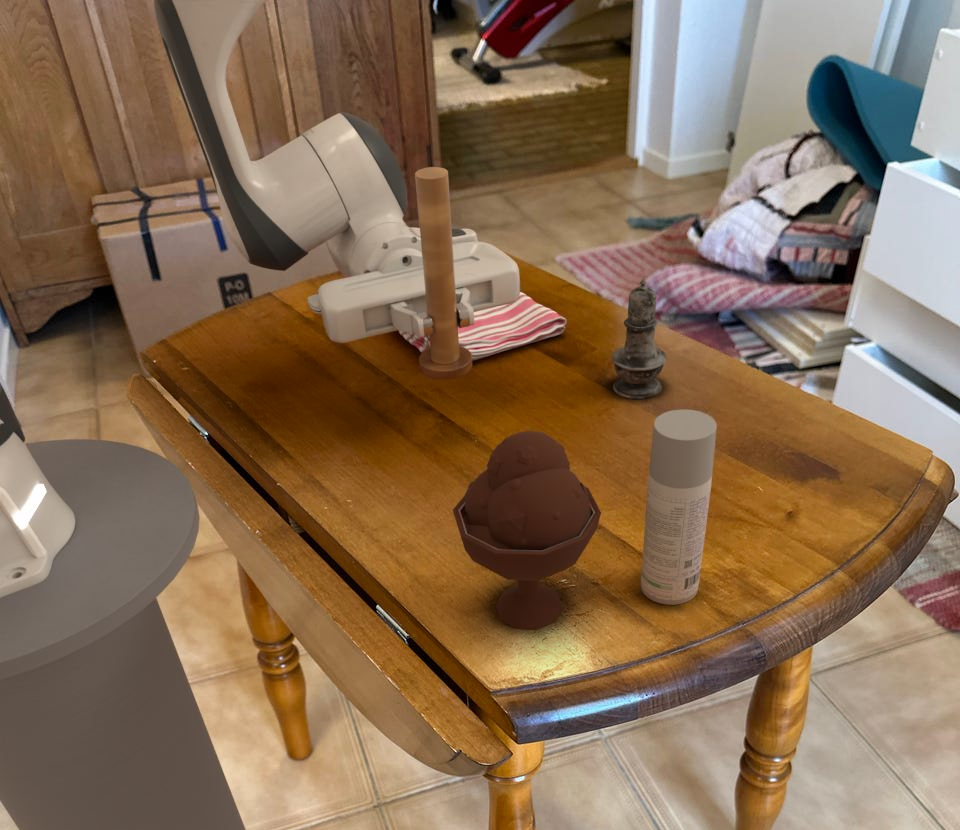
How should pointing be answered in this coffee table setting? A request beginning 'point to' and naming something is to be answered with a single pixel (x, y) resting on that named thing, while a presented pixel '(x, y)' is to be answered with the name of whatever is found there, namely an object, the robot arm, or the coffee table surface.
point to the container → (677, 505)
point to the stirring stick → (439, 277)
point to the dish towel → (503, 328)
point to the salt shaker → (639, 348)
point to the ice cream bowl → (527, 524)
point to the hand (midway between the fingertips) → (447, 323)
